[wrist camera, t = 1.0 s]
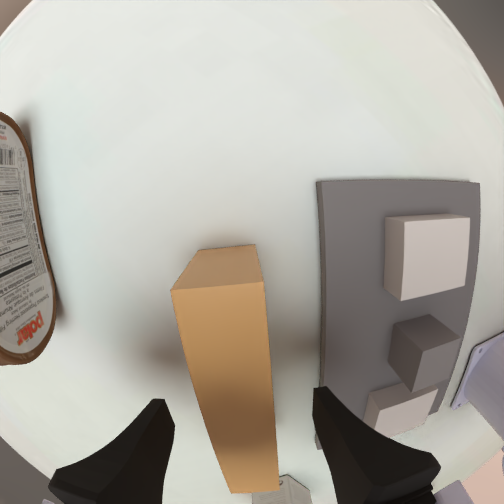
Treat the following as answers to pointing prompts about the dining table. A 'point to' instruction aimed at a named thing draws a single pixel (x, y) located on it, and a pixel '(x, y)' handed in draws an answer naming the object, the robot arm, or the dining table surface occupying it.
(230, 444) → the frame
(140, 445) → the robot arm
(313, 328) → the dining table surface
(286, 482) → the skincare box
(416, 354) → the stand
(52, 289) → the tin
